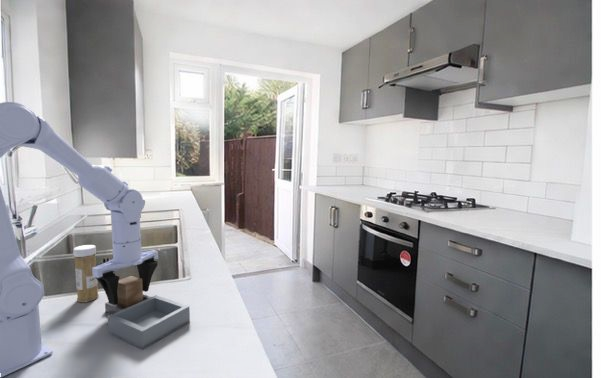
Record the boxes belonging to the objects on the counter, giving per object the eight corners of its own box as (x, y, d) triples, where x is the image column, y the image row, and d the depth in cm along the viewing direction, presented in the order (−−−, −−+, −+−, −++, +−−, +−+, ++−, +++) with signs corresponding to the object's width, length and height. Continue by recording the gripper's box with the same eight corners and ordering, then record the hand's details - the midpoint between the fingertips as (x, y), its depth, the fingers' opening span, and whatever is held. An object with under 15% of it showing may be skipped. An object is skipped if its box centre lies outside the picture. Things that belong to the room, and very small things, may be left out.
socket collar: (124, 319, 67) (124, 310, 67) (105, 311, 71) (105, 303, 70) (153, 305, 74) (153, 297, 73) (134, 298, 77) (134, 291, 77)
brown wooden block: (127, 314, 69) (125, 284, 69) (116, 310, 71) (115, 281, 71) (143, 307, 73) (142, 278, 72) (132, 303, 75) (131, 275, 74)
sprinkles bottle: (98, 300, 76) (95, 247, 75) (76, 304, 74) (72, 250, 72) (98, 293, 80) (95, 243, 79) (77, 297, 77) (73, 245, 76)
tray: (143, 349, 57) (142, 331, 56) (108, 333, 62) (107, 316, 61) (189, 322, 66) (189, 306, 66) (156, 309, 71) (155, 295, 71)
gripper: (104, 251, 62) (108, 314, 64) (165, 235, 75) (167, 288, 76) (85, 246, 65) (89, 306, 67) (146, 232, 78) (148, 283, 80)
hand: (129, 296), depth 72 cm, fingers open, 7 cm apart
